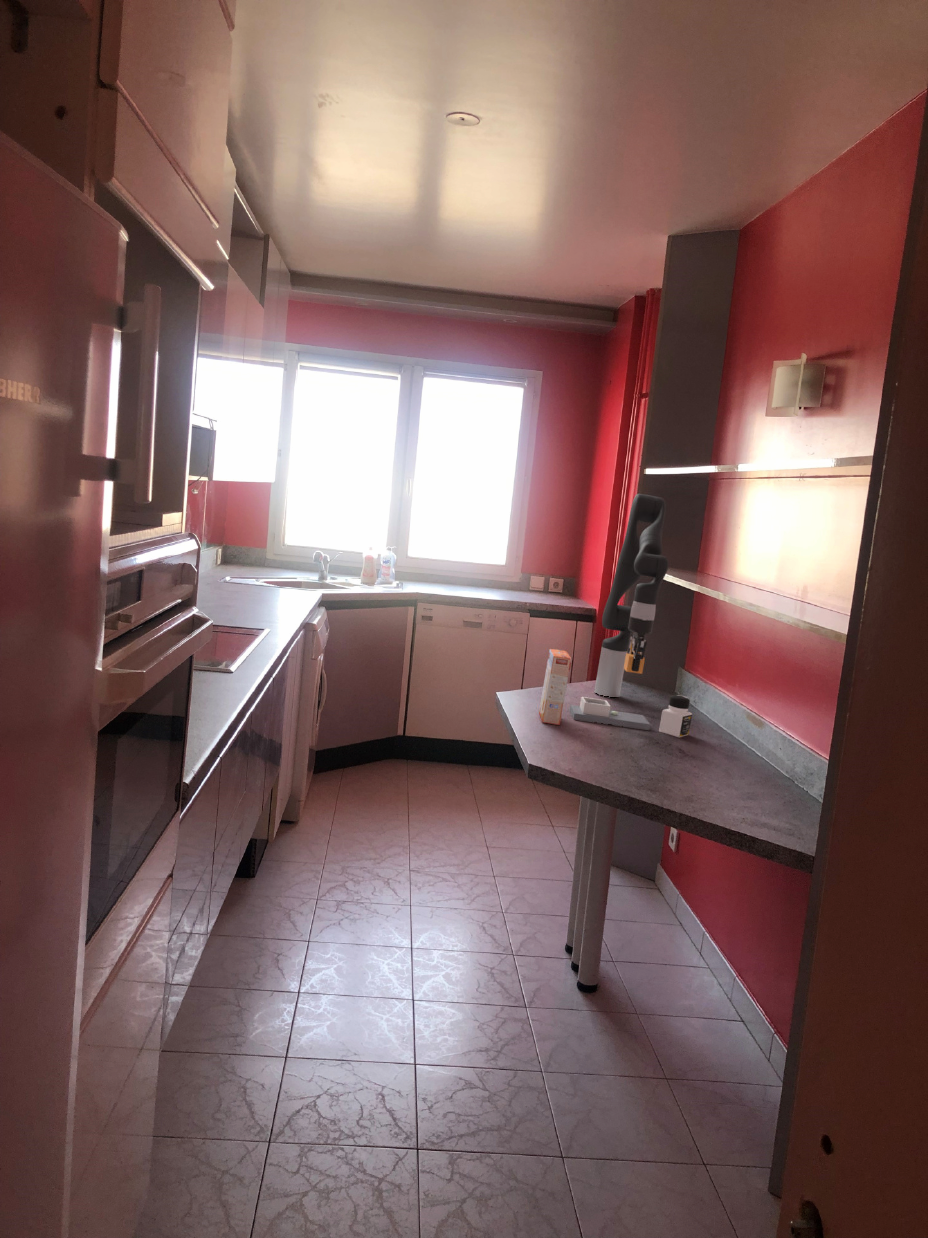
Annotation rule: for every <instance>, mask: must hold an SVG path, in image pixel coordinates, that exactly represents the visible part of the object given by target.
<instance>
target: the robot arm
mask: <svg viewBox="0 0 928 1238" xmlns="http://www.w3.org/2000/svg"><path fill="white" fill-rule="evenodd" d="M666 505H667V504H666V501H665V499H664V498H662V497H660V496H654V495H648V494H644V493H643V494H642V493H637V494H636V495H635V496H634V498H633V499H632V504H631V507H630V512H629V516H628V517H629V518H628V523H627V526H626V527H627V528H626V530H625V531H626V532H625V536H624V541H623V543H622V547H621V550H620V553H619V556H618V557H619V558H618V561H617V565H616V569H615V573H614V578H613V581H612V585H611V587H610V588H611V589H610V592H609V595H608V598H607V601H606V603H605V606H604V609H603V613H602V618H601V623H602V625H601V626H602V627H603V628H604V629H606V630H610V631H619V632H618V634H617V635H614V636H612V637H611V636H610V637H607V638H605V639H603V640H602V644H601V651H600V656H599V661H598V662H599V663H598V667H597V673H596V680H595V685H594V690H593V691H594V692H595V693H598V694H600V695H605V696H609V697H608V698H610V697H619V698H620V695H621V689H622V685H623V684H622V683H623V678H624V673H625V669H624V663H625V657H626V653H628V654H634V655H633V663H632V668H631V670H632V671H636V672H638V671H639V666H640V660H641V659H643V657H644V656H645V651H646V648H647V640H646V634H652V632H653V627H654V623H655V622H654V621H655V618H656V617H655V616H656V607H657V606H656V604H657V600H658V595H659V590H660V587H661V585H662V583H663V580H664V578H665V576H666V574H667V572H668V570H669V567H670V564H669V560H668V558H667V556H664V555H662V552H663V546H662V545H663V544H662V536H663V529H664V525H665V516H666V509H667V508H666V507H667V506H666ZM639 522H641V523H647V524H650V525H648V527H646V528H645V529H644V530H643V531H642V532H641V534H640V535H639V531H638V524H639ZM642 576H644V577H650V578H653V580H651V581H650V582H642V583H638V582H639V580H640V579H641V578H642ZM637 583H638V584H637ZM635 584H636V587H635V590H634V596H633V602H632V604H631V606H629V605H622V604H619V602H620V601H621V598H622V597H623V596H624V595H625V594H626V593H627V592H628V591H629V590H630V589H631V588H632V587H633V586H635ZM632 632H633V634H632ZM595 693H594V694H595ZM600 695H599V696H600Z"/></svg>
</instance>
